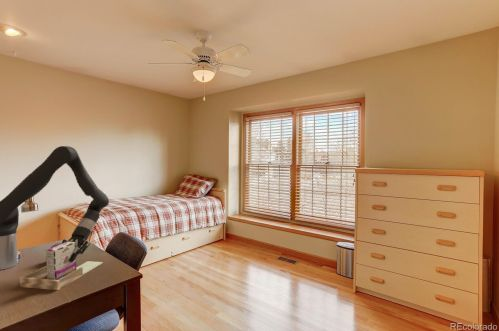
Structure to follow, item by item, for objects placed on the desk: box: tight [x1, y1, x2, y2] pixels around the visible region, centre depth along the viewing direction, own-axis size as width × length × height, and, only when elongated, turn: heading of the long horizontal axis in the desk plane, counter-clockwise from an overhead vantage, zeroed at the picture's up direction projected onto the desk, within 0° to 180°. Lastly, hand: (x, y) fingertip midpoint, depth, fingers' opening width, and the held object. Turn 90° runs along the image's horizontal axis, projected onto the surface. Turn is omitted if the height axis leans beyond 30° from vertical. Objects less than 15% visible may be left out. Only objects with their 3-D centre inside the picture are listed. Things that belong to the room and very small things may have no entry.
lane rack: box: [19, 265, 84, 291], centre depth 121 cm, size 19×14×4 cm
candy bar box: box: [45, 242, 77, 280], centre depth 121 cm, size 11×5×16 cm, turn 169°
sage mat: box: [76, 260, 104, 275], centre depth 135 cm, size 9×14×1 cm, turn 172°
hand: (65, 261), depth 122 cm, fingers closed on candy bar box, 5 cm apart
